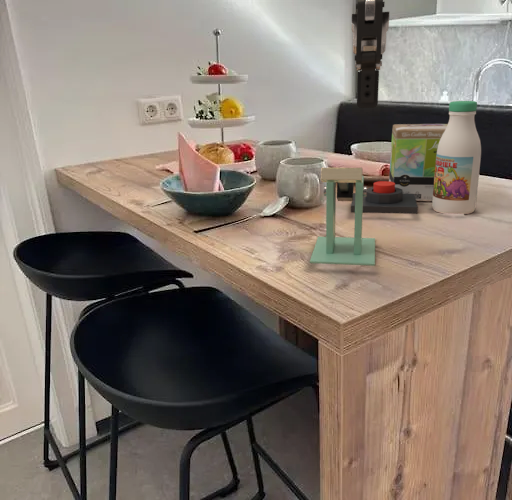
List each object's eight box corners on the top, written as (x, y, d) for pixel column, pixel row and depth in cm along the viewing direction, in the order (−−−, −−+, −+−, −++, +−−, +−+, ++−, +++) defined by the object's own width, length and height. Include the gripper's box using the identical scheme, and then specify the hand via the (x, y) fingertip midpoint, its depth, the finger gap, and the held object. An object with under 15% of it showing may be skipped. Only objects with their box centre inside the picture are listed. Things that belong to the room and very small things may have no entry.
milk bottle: (447, 202, 101) (456, 99, 94) (483, 210, 95) (496, 100, 88) (423, 210, 96) (431, 102, 90) (459, 218, 90) (471, 103, 84)
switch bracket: (374, 271, 69) (378, 188, 65) (309, 268, 71) (309, 187, 67) (374, 245, 79) (377, 171, 75) (317, 243, 81) (317, 171, 77)
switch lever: (361, 183, 61) (362, 164, 61) (320, 183, 62) (321, 164, 62) (362, 201, 72) (363, 185, 73) (328, 201, 73) (328, 185, 74)
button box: (413, 204, 101) (414, 184, 99) (417, 218, 92) (418, 197, 90) (352, 203, 103) (353, 184, 102) (350, 216, 94) (351, 196, 93)
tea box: (391, 203, 102) (395, 129, 97) (388, 191, 112) (391, 123, 106) (469, 203, 100) (477, 127, 95) (459, 191, 109) (465, 121, 104)
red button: (394, 190, 98) (394, 181, 97) (395, 194, 94) (395, 185, 93) (373, 189, 99) (373, 181, 98) (373, 194, 95) (373, 185, 94)
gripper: (415, -78, 45) (404, 109, 51) (406, -46, 58) (398, 99, 64) (331, -69, 47) (329, 111, 52) (341, -40, 60) (339, 101, 65)
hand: (367, 104), depth 58 cm, fingers open, 8 cm apart
